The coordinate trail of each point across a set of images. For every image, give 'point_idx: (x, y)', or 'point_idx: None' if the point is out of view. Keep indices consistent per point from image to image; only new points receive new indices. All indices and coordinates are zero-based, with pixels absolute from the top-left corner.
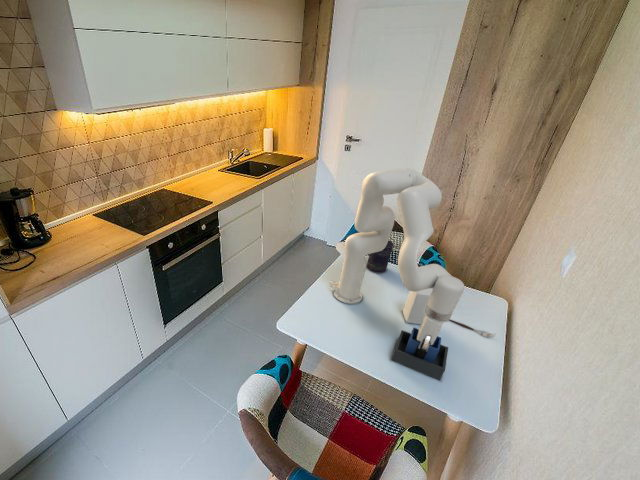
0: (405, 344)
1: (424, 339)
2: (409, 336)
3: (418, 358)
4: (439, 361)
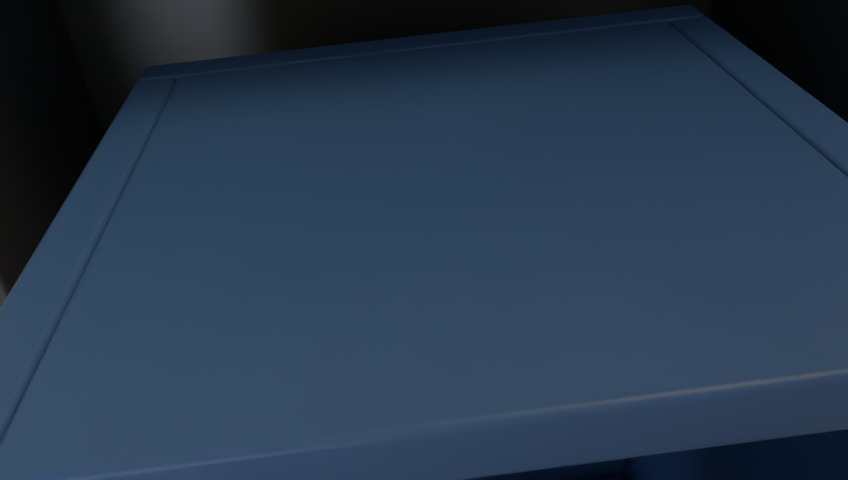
0: None
1: (720, 455)
2: (841, 2)
3: None
4: None
